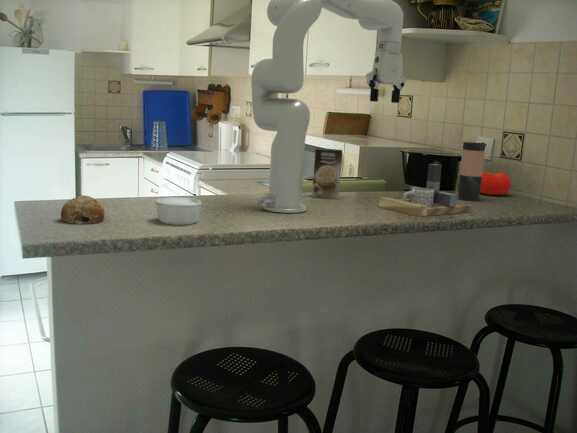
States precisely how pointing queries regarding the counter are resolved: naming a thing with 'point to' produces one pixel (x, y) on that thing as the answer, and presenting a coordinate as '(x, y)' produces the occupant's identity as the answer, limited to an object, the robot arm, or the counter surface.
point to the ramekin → (178, 210)
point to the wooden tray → (420, 207)
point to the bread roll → (82, 211)
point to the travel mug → (471, 171)
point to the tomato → (495, 184)
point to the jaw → (437, 187)
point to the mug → (421, 196)
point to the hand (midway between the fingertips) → (384, 102)
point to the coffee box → (327, 173)
